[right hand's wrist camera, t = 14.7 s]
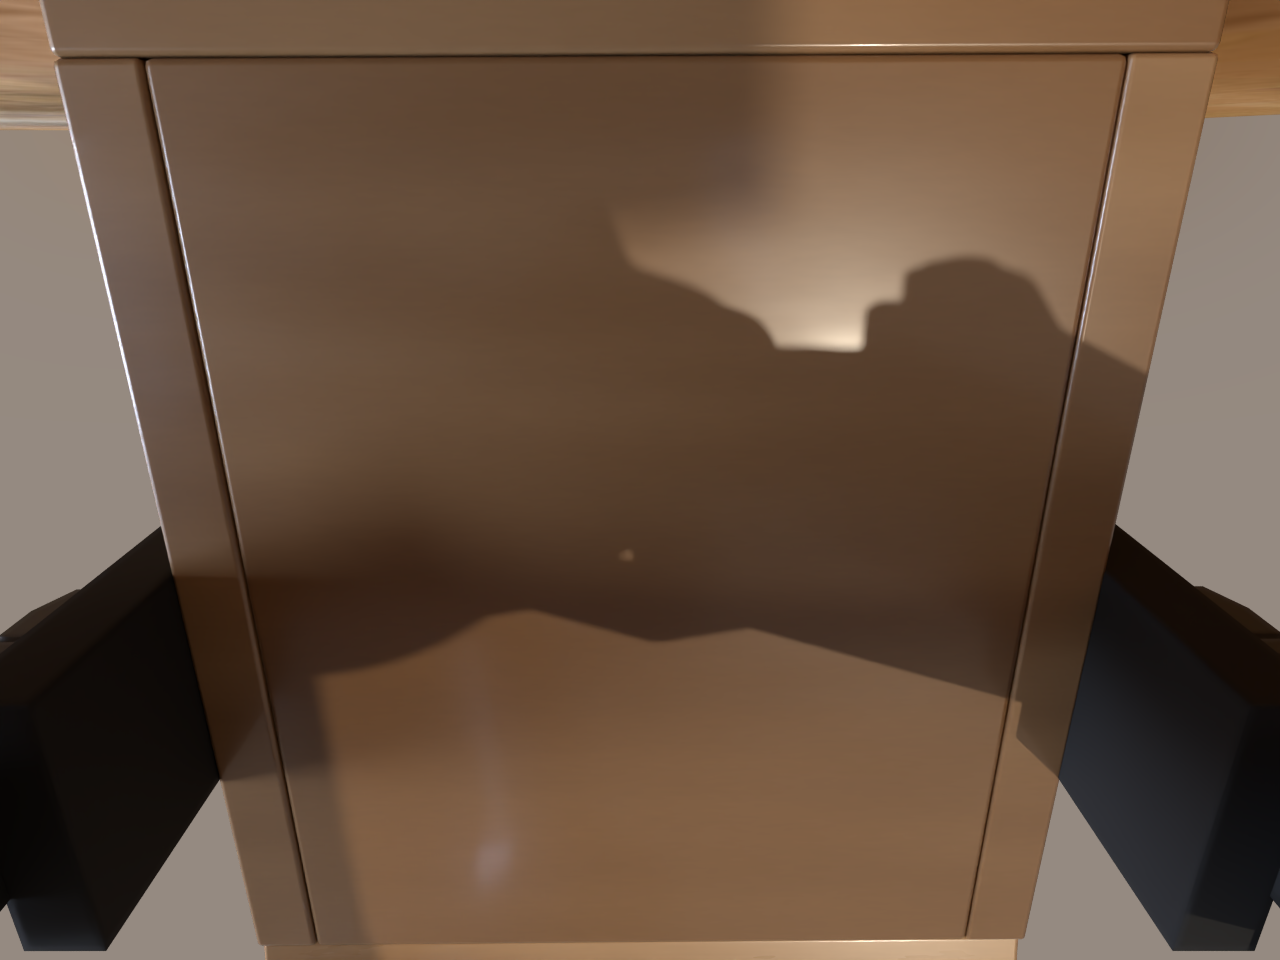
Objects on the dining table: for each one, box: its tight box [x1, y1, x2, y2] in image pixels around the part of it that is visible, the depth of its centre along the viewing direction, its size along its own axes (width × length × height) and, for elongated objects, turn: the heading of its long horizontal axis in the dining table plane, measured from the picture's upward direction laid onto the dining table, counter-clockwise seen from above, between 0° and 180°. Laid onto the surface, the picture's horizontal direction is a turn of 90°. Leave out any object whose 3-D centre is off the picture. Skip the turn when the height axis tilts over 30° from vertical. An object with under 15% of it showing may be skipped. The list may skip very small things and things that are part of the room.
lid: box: [264, 936, 1018, 960], centre depth 20 cm, size 17×10×8 cm, turn 0°
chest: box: [39, 0, 1229, 946], centre depth 16 cm, size 16×10×11 cm, turn 0°
